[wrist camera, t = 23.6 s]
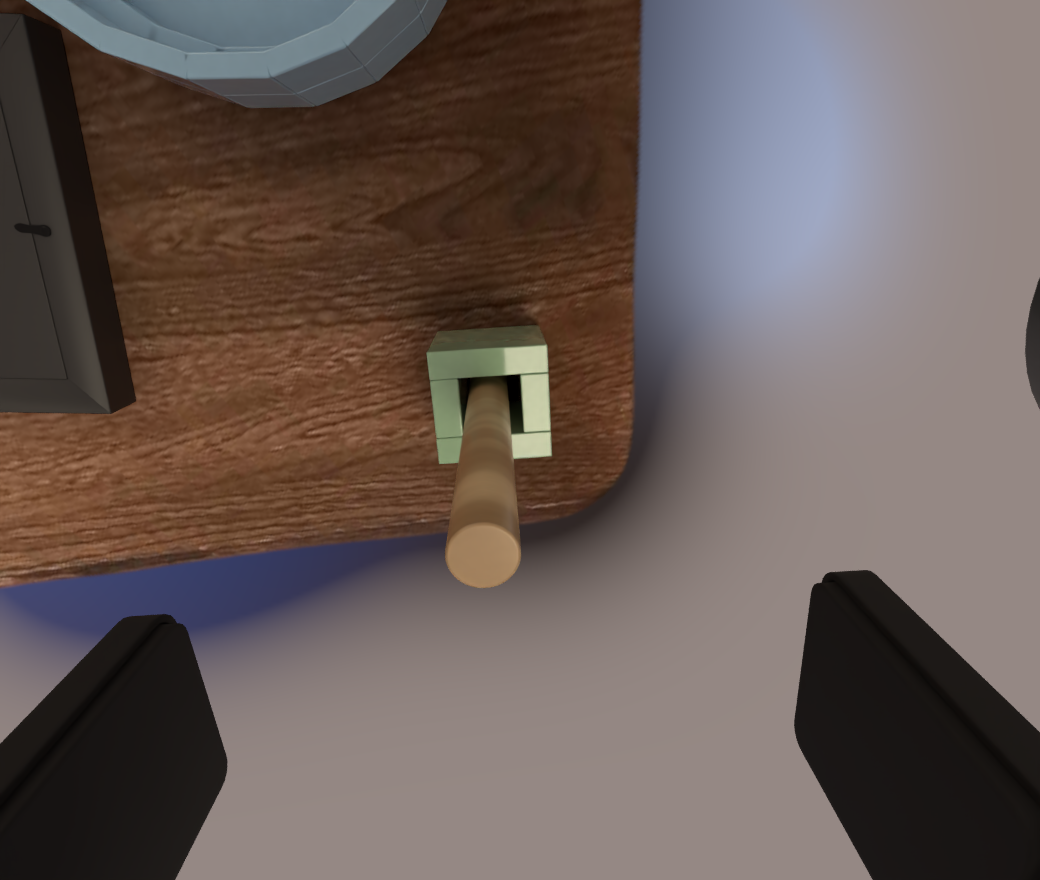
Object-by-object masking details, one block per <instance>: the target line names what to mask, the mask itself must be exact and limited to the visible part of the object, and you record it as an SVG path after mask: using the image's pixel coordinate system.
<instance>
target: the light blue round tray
mask: <svg viewBox="0 0 1040 880" xmlns="http://www.w3.org/2000/svg"><path fill="white" fill-rule="evenodd" d="M26 1H27V2H29V3H30V4H31V5H33V6H34V7H36V8H37V9H39V10H40V11H42V12H43V13H45V14H46V15H48V16H49V17H50V18H52V19H53V20H55V21H56V22H58V23H59V24H61V25H62V26H64V27H65V28H67V29H68V30H69V31H71V32H72V33H74V34H75V35H77V36H78V37H80V38H81V39H83V40H84V41H86V42H87V43H89V44H90V45H91V46H93V47H94V48H96V49H97V50H99V51H101V52H103V53H105V54H108V55H110V56H112V57H115V58H117V59H119V60H122V61H124V62H126V63H129V64H131V65H133V66H135V67H138V68H140V69H142V70H145V71H147V72H149V73H152V74H154V75H156V76H159V77H161V78H163V79H166V80H168V81H170V82H173V83H175V84H177V85H179V86H182V87H185V88H188V89H191V90H194V91H197V92H200V93H203V94H207V95H210V96H213V97H216V98H219V99H222V100H225V101H228V102H231V103H234V104H237V105H240V106H243V107H246V108H247V107H249V108H278V107H314V106H319V105H321V104H324V103H326V102H329V101H331V100H334V99H336V98H339V97H341V96H344V95H346V94H349V93H351V92H354V91H356V90H359V89H361V88H364V87H366V86H369V85H371V84H374V83H375V82H376V81H379V80H380V79H381V78H382V77H383V76H384V75H385V74H386V73H387V72H389V71H390V70H391V69H392V68H393V67H394V66H395V65H396V64H397V63H398V62H399V61H401V60H402V59H403V58H404V57H405V56H406V55H407V54H408V53H409V52H410V51H411V50H413V49H414V48H415V47H416V46H417V45H418V44H419V43H420V42H421V41H422V40H423V39H425V38H426V37H427V34H429V33H430V31H431V29H432V27H433V26H434V24H435V22H436V20H437V18H438V16H439V15H440V13H441V11H442V9H443V7H444V6H445V4H446V2H447V0H26Z"/></svg>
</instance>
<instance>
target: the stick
mask: <svg viewBox="0 0 1040 880" xmlns="http://www.w3.org/2000/svg"><path fill="white" fill-rule="evenodd" d="M445 559H446V563H447V566H448V568H449V570H450V571H451V573H452V574H453V575H454V576H455V578H457V579H458V580H459V581H461V582H462V583H464V584H466V585H469V586H472V587H476V588H489V587H493V586H497V585H500V584H502V583H504V582H505V581H507V580H508V579H509V578H510V577H511V576H512V575H513V574H514V573H515V571H516V570H517V568H518V566H519V563H520V559H521V548H520V534H519V522H518V510H517V497H516V485H515V473H514V460H513V448H512V436H511V423H510V411H509V399H508V386H507V375H503V376H488V377H473V378H471V381H470V388H469V395H468V402H467V408H466V415H465V422H464V428H463V435H462V442H461V449H460V455H459V462H458V469H457V475H456V482H455V489H454V496H453V502H452V509H451V516H450V523H449V529H448V537H447V543H446V550H445Z"/></svg>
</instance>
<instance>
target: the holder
mask: <svg viewBox="0 0 1040 880" xmlns="http://www.w3.org/2000/svg"><path fill="white" fill-rule="evenodd" d="M426 354H427V363H428V372H429V379H430V388H431V397H432V406H433V414H434V423H435V432H436V437H437V439H436V441H437V450H438V459H439V464H446V463H458V462H459V455H460V449H461V442H462V435H463V428H464V422H465V415H466V408H467V402H468V395H467V384H466V378H473V377H488V376H503V375H518V391H519V401H509V411H510V423H511V436H512V448H513V459H518V458H533V457H547V456H552V443H551V419H550V395H549V374H548V348H547V343H546V341H545V339H544V336H543V334H542V332H541V329H540V327H539V325H528V326H513V327H498V328H482V329H467V330H452V331H438V332H437V334H436V335H435V337H434V339H433V341H432V343H431V345H430V347H429V349H428V351H427V353H426Z"/></svg>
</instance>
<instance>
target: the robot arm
mask: <svg viewBox="0 0 1040 880" xmlns="http://www.w3.org/2000/svg"><path fill="white" fill-rule="evenodd" d="M794 726H795V734H796V738H797V741H798V744H799V747H800V749H801V751H802V753H803V755H804V756H805V758H806V760H807V762H808V763H809V765H810V767H811V769H812V771H813V772H814V774H815V776H816V778H817V780H818V782H819V783H820V785H821V787H822V789H823V791H824V792H825V794H826V796H827V798H828V800H829V802H830V803H831V805H832V807H833V809H834V810H835V812H836V814H837V816H838V818H839V820H840V821H841V823H842V825H843V827H844V828H845V830H846V832H847V834H848V836H849V838H850V839H851V841H852V843H853V845H854V847H855V849H856V850H857V852H858V854H859V856H860V858H861V859H862V861H863V863H864V865H865V867H866V868H867V870H868V872H869V874H870V876H871V878H872V879H873V880H1040V732H1039V731H1038V730H1037V729H1036V728H1035V727H1034V726H1033V725H1031V724H1030V722H1028V721H1027V720H1026V719H1025V718H1024V717H1023V716H1022V715H1021V714H1020V713H1019V712H1018V711H1017V710H1016V709H1015V708H1014V707H1013V706H1012V705H1011V704H1010V703H1009V702H1008V701H1007V700H1006V699H1005V698H1004V697H1003V696H1001V695H1000V694H999V693H998V692H997V691H996V690H995V689H994V688H993V687H992V686H991V685H990V684H989V683H988V682H987V681H986V680H985V679H984V678H983V677H982V676H981V675H980V674H978V673H977V671H976V670H974V669H973V668H972V667H971V666H970V665H969V664H968V663H967V662H966V661H965V660H964V659H963V658H962V657H961V656H960V655H959V654H958V653H957V652H956V651H955V650H954V649H953V648H951V646H949V645H948V644H947V643H946V642H945V641H944V640H943V639H942V638H941V637H940V636H939V635H938V634H937V633H936V632H935V631H934V630H933V629H932V628H931V627H930V626H929V625H928V624H927V623H926V622H925V621H924V620H923V619H921V618H920V617H919V616H918V615H917V614H916V613H915V612H914V611H913V610H912V609H911V608H910V607H909V606H908V605H907V604H906V603H905V602H904V601H903V600H902V599H901V598H900V597H899V596H898V595H897V594H895V593H894V592H893V591H892V590H891V589H890V588H889V587H888V586H887V585H886V584H885V583H884V582H883V581H882V580H881V579H880V578H879V577H878V576H877V575H875V574H874V573H873V572H871V571H868V570H861V571H844V572H830V573H827V574H826V575H825V576H824V578H823V580H822V583H817V584H815V585H814V586H813V588H812V592H811V598H810V605H809V613H808V621H807V628H806V636H805V644H804V652H803V659H802V667H801V674H800V682H799V690H798V698H797V706H796V713H795V720H794ZM226 773H227V757H226V753H225V750H224V747H223V743H222V740H221V737H220V734H219V731H218V727H217V724H216V721H215V718H214V715H213V711H212V708H211V705H210V702H209V699H208V695H207V692H206V689H205V686H204V682H203V680H202V677H201V673H200V670H199V667H198V663H197V660H196V657H195V654H194V651H193V647H192V644H191V641H190V638H189V634H188V632H187V630H186V627H185V626H184V625H183V624H179V623H176V621H175V619H174V618H173V617H172V616H171V615H166V614H162V615H145V616H131V617H126V618H123V619H122V620H121V621H119V622H118V623H117V624H116V625H115V626H114V627H113V628H112V630H110V631H109V632H108V633H107V634H106V636H105V637H104V638H103V639H102V640H101V641H100V642H99V643H98V644H97V645H96V646H95V647H94V648H93V649H92V650H91V651H90V652H89V653H88V654H87V655H86V656H85V657H84V658H83V659H82V660H81V661H80V662H79V663H78V664H77V666H75V667H74V669H73V670H72V671H71V672H70V673H69V674H68V675H67V676H66V677H65V678H64V679H63V680H62V681H61V682H60V683H59V684H58V685H57V686H56V687H55V688H54V689H53V690H52V691H51V692H50V693H49V694H48V695H47V696H46V697H45V698H44V699H43V700H42V701H41V702H40V703H39V704H38V706H37V707H36V708H35V709H34V710H33V711H32V712H31V713H30V714H29V715H28V716H27V717H26V718H25V719H24V720H23V721H22V722H21V723H20V724H19V725H18V726H17V727H16V728H15V729H14V730H13V731H12V732H11V733H10V734H9V735H8V736H7V737H6V739H5V740H4V741H3V742H2V743H1V744H0V880H175V879H176V877H177V875H178V873H179V871H180V869H181V867H182V865H183V863H184V861H185V859H186V857H187V855H188V853H189V851H190V849H191V847H192V845H193V843H194V841H195V839H196V837H197V835H198V833H199V831H200V829H201V827H202V825H203V823H204V821H205V819H206V818H207V815H208V813H209V811H210V809H211V808H212V806H213V804H214V802H215V800H216V798H217V796H218V794H219V792H220V790H221V788H222V786H223V783H224V781H225V777H226Z"/></svg>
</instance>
